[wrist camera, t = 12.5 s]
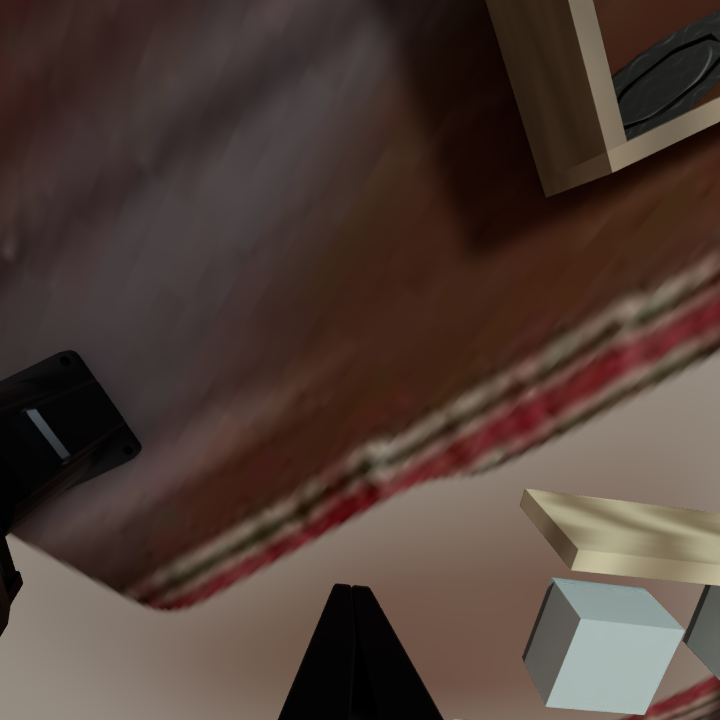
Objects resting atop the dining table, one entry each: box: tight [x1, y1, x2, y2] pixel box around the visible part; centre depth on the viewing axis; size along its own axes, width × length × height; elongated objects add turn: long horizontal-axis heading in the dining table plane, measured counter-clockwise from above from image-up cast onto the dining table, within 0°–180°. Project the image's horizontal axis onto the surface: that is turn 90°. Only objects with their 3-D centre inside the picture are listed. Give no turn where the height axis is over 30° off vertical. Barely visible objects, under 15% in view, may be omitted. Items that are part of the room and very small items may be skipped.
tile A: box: [522, 577, 685, 715], centre depth 24 cm, size 7×7×3 cm
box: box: [454, 489, 720, 720], centre depth 23 cm, size 24×20×5 cm
